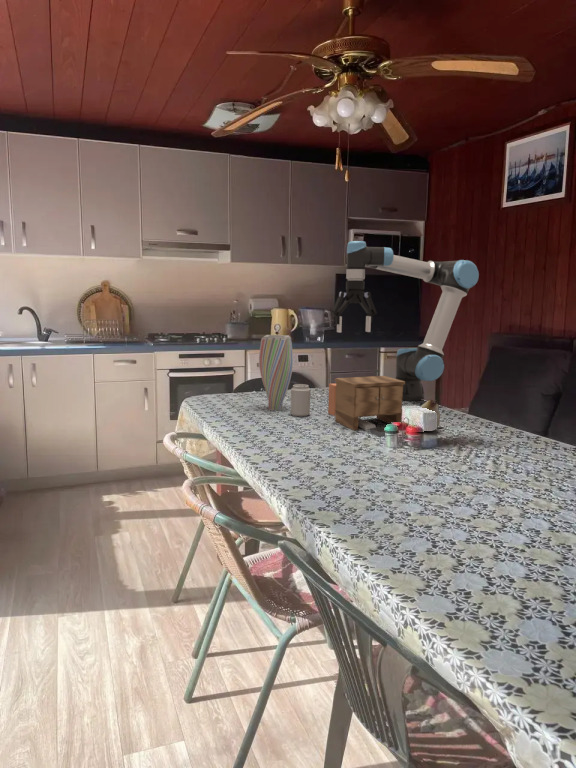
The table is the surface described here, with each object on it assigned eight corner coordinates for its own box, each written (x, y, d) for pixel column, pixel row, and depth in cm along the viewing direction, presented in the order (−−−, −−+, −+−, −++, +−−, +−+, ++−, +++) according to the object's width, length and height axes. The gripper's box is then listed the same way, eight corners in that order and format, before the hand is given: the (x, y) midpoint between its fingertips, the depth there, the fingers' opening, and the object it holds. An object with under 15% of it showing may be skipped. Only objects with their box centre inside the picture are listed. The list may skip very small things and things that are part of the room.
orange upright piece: (328, 413, 234) (329, 383, 232) (339, 412, 236) (340, 383, 234) (364, 429, 208) (365, 396, 206) (376, 428, 210) (378, 395, 208)
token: (384, 432, 207) (384, 426, 206) (393, 436, 201) (394, 430, 201) (369, 433, 204) (369, 428, 204) (378, 437, 199) (379, 432, 198)
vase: (289, 413, 233) (290, 337, 229) (255, 411, 236) (256, 336, 231) (294, 406, 247) (295, 335, 242) (262, 404, 249) (263, 334, 244)
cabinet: (382, 417, 228) (383, 375, 225) (404, 426, 214) (406, 382, 211) (333, 421, 220) (335, 378, 217) (353, 431, 206) (355, 384, 203)
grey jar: (309, 417, 226) (310, 386, 224) (290, 416, 227) (291, 386, 225) (309, 413, 234) (310, 383, 232) (290, 412, 234) (291, 383, 232)
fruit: (437, 435, 201) (440, 401, 200) (410, 433, 204) (412, 399, 202) (440, 429, 211) (442, 396, 209) (413, 426, 214) (415, 394, 212)
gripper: (376, 280, 247) (375, 330, 251) (323, 279, 238) (322, 331, 241) (386, 280, 240) (384, 332, 244) (332, 279, 231) (330, 333, 234)
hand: (353, 332), depth 242 cm, fingers open, 13 cm apart
